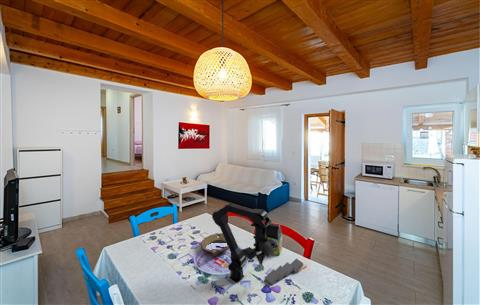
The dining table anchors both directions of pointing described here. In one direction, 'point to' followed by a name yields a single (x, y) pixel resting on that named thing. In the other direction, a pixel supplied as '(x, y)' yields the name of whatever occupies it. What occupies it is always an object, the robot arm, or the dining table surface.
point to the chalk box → (279, 245)
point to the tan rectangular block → (303, 267)
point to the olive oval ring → (214, 239)
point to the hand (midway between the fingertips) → (260, 264)
